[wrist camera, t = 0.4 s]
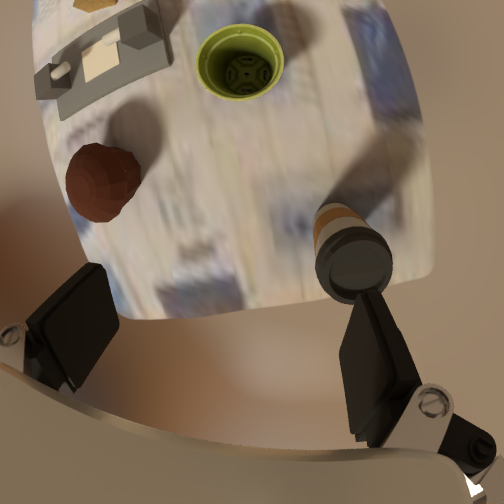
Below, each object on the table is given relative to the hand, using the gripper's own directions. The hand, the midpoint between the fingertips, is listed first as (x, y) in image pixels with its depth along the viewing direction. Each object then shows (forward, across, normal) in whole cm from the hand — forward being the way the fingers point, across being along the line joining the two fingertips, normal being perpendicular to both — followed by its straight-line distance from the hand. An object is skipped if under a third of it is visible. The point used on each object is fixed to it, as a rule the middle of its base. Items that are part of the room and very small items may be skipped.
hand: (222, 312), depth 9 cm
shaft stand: (+30, +27, -20) cm, 45 cm away
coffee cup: (+31, -10, +6) cm, 33 cm away
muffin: (+31, +24, +1) cm, 39 cm away
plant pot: (+31, +3, -14) cm, 34 cm away
